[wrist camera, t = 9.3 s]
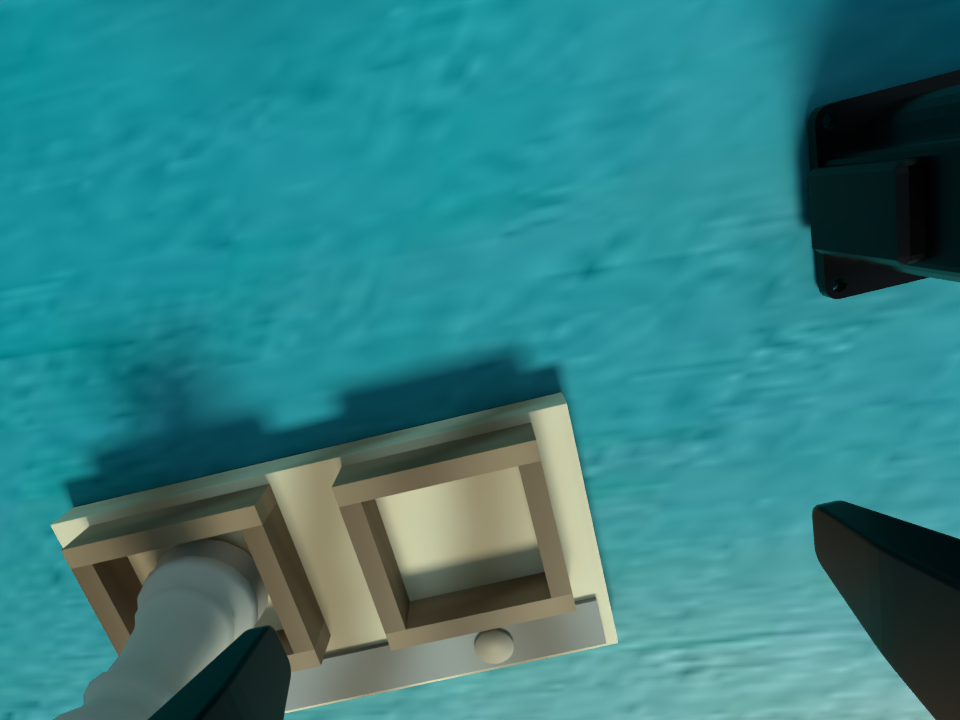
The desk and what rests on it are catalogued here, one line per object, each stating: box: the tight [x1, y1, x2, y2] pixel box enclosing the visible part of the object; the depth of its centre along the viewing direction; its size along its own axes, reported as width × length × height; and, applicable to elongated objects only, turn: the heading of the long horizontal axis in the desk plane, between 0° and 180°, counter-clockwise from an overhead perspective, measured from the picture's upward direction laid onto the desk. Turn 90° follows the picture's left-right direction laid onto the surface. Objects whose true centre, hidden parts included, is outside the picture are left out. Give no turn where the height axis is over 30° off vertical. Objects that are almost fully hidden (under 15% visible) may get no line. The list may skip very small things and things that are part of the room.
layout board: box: [51, 392, 618, 713], centre depth 21 cm, size 20×11×3 cm, turn 104°
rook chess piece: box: [53, 539, 268, 720], centre depth 17 cm, size 4×4×8 cm
